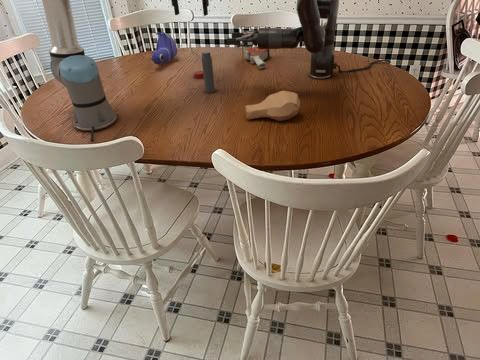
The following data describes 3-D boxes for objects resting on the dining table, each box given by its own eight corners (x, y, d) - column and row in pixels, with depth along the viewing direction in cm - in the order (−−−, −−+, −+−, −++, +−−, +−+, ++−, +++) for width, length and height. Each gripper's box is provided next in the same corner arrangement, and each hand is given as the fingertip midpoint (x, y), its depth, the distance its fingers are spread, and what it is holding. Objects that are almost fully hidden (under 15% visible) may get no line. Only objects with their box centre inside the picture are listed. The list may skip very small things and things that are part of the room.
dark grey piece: (203, 90, 153) (199, 52, 143) (212, 88, 155) (208, 50, 145) (207, 93, 150) (203, 54, 140) (216, 91, 152) (212, 52, 142)
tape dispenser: (262, 73, 170) (281, 58, 183) (262, 62, 167) (281, 48, 179) (231, 66, 178) (251, 52, 190) (230, 56, 174) (251, 42, 187)
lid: (204, 78, 165) (203, 74, 164) (194, 78, 166) (193, 74, 164) (205, 74, 169) (204, 70, 168) (195, 75, 169) (194, 71, 168)
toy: (165, 64, 197) (145, 70, 175) (161, 31, 190) (139, 33, 168) (182, 63, 195) (163, 69, 172) (178, 30, 188) (158, 32, 166)
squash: (303, 121, 125) (302, 100, 119) (248, 131, 127) (244, 110, 121) (298, 104, 133) (297, 83, 126) (246, 113, 135) (242, 93, 128)
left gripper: (151, -42, 140) (161, 16, 152) (209, -44, 132) (214, 17, 145) (161, -44, 146) (170, 12, 158) (217, -46, 138) (221, 13, 150)
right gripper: (273, 23, 138) (232, 23, 141) (268, 32, 126) (224, 32, 130) (273, 43, 142) (233, 43, 145) (268, 54, 131) (225, 53, 134)
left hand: (191, 14), depth 151 cm, fingers open, 13 cm apart
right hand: (229, 38), depth 137 cm, fingers open, 8 cm apart
